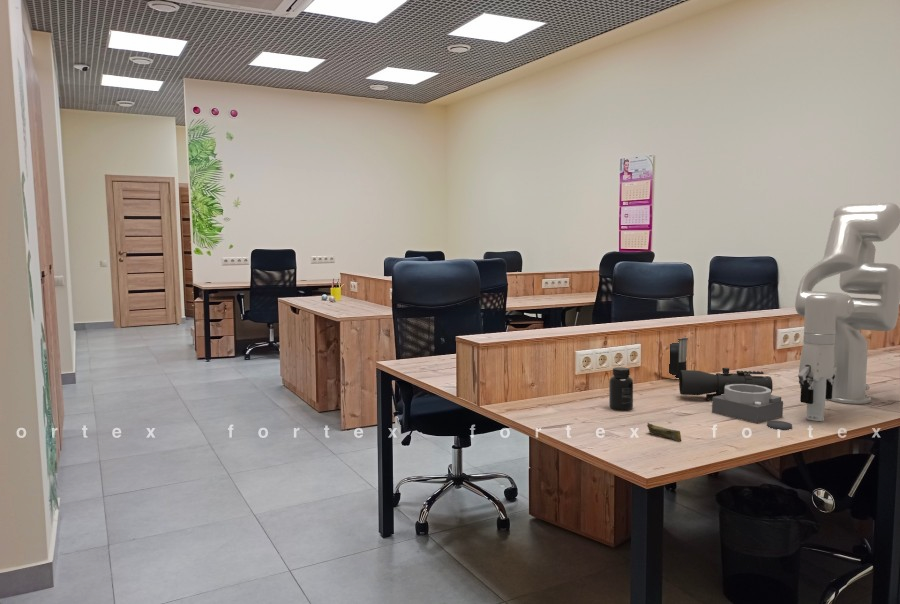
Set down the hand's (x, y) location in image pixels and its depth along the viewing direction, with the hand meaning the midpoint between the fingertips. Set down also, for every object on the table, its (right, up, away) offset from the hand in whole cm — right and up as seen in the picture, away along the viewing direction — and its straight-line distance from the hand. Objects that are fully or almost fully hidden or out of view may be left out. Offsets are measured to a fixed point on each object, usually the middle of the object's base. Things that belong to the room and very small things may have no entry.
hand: (816, 400), depth 181 cm
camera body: (-17, -5, +5) cm, 18 cm away
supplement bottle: (-51, -5, +13) cm, 52 cm away
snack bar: (-47, -7, -15) cm, 50 cm away
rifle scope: (-16, -3, +22) cm, 28 cm away
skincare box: (0, -5, +1) cm, 5 cm away
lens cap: (-14, -6, -7) cm, 17 cm away
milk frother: (-17, 0, +53) cm, 56 cm away
